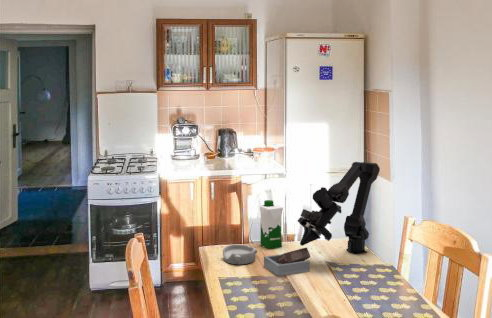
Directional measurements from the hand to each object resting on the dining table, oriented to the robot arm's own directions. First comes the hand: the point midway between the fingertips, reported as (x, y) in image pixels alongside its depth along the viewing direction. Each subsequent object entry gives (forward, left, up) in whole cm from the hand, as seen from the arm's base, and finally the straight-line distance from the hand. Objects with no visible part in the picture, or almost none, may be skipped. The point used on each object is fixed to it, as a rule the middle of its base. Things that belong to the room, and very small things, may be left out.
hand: (300, 244), depth 221 cm
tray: (+6, 0, -9) cm, 10 cm away
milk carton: (-1, -30, -9) cm, 31 cm away
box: (-3, -1, -4) cm, 5 cm away
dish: (+19, -18, -9) cm, 28 cm away
